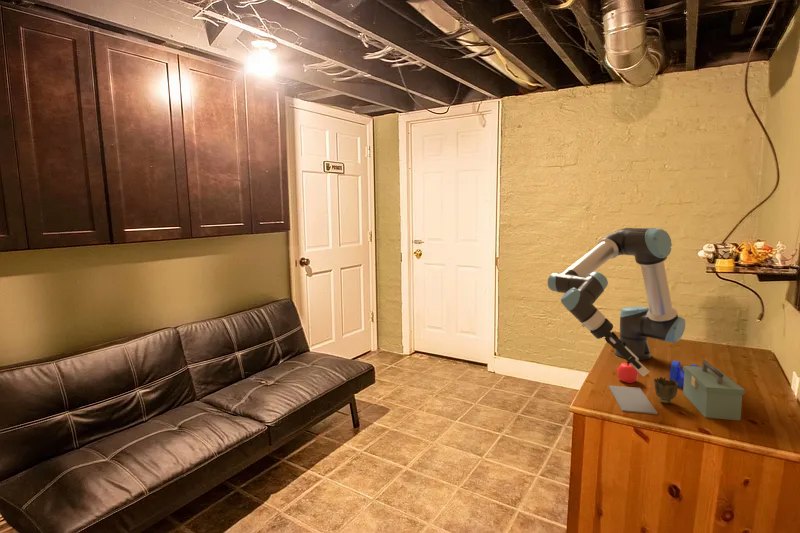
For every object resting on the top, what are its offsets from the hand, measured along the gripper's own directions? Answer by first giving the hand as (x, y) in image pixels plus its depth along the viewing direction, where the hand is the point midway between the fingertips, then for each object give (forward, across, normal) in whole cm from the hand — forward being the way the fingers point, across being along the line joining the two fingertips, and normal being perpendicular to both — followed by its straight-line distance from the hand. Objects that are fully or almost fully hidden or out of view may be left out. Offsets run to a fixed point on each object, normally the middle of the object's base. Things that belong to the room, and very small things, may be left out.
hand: (640, 367), depth 158 cm
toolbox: (+25, -1, +7) cm, 26 cm away
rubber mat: (+7, 0, -11) cm, 13 cm away
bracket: (+26, -25, +8) cm, 36 cm away
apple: (+9, -20, -9) cm, 23 cm away
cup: (+15, -1, -3) cm, 15 cm away
